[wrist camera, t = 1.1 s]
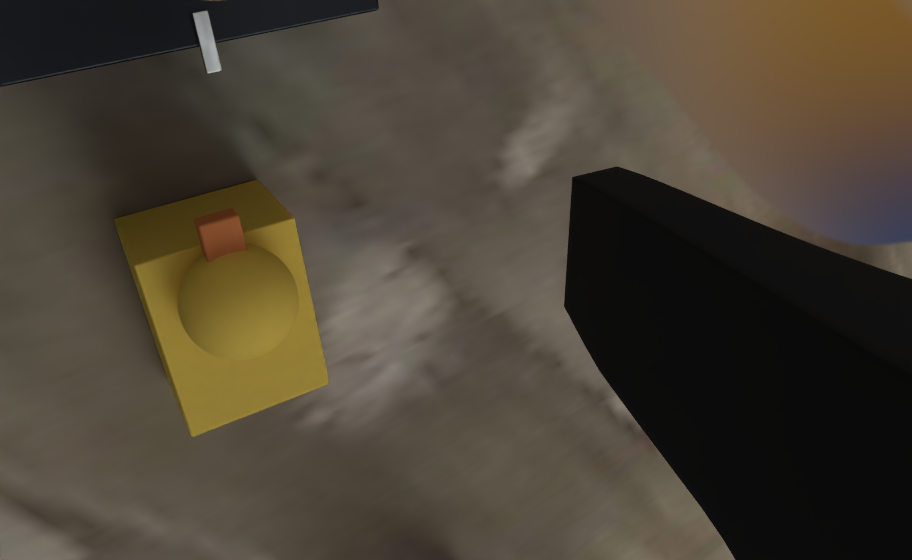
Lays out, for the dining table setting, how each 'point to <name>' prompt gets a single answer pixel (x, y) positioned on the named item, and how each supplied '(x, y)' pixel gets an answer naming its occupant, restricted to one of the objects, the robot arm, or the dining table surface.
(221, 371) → the toy duck
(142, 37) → the black dial box
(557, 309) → the dining table surface
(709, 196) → the dining table surface
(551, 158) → the dining table surface
